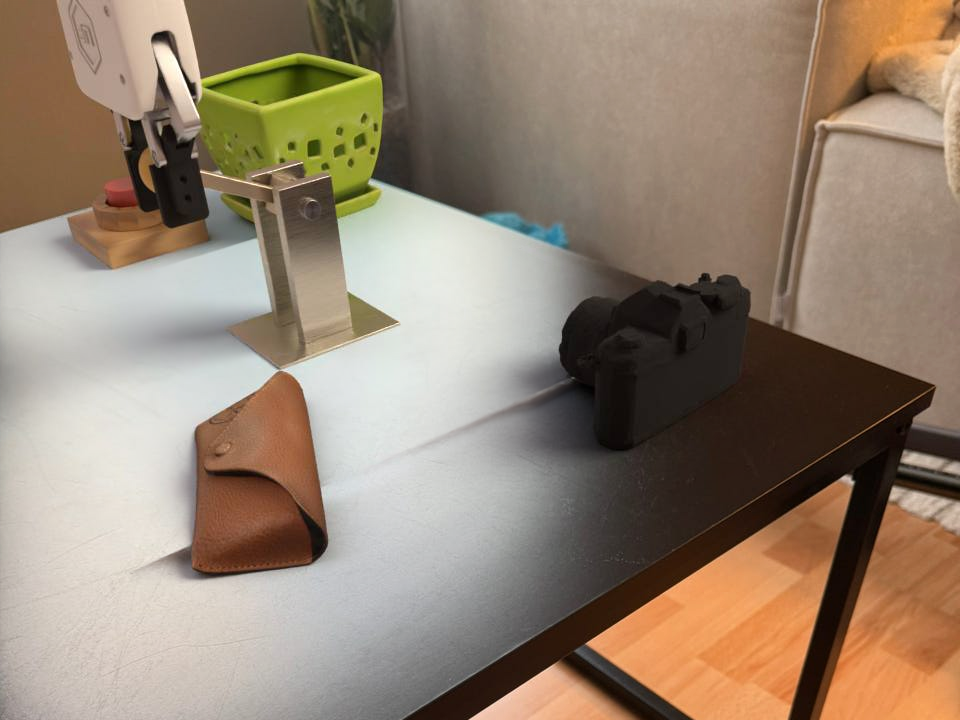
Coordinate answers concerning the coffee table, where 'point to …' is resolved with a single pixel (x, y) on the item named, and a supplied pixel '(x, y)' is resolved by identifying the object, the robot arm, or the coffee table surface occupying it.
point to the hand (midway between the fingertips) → (174, 211)
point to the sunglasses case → (258, 485)
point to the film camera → (656, 353)
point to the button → (121, 193)
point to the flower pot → (296, 124)
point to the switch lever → (221, 183)
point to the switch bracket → (304, 273)
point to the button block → (130, 233)
